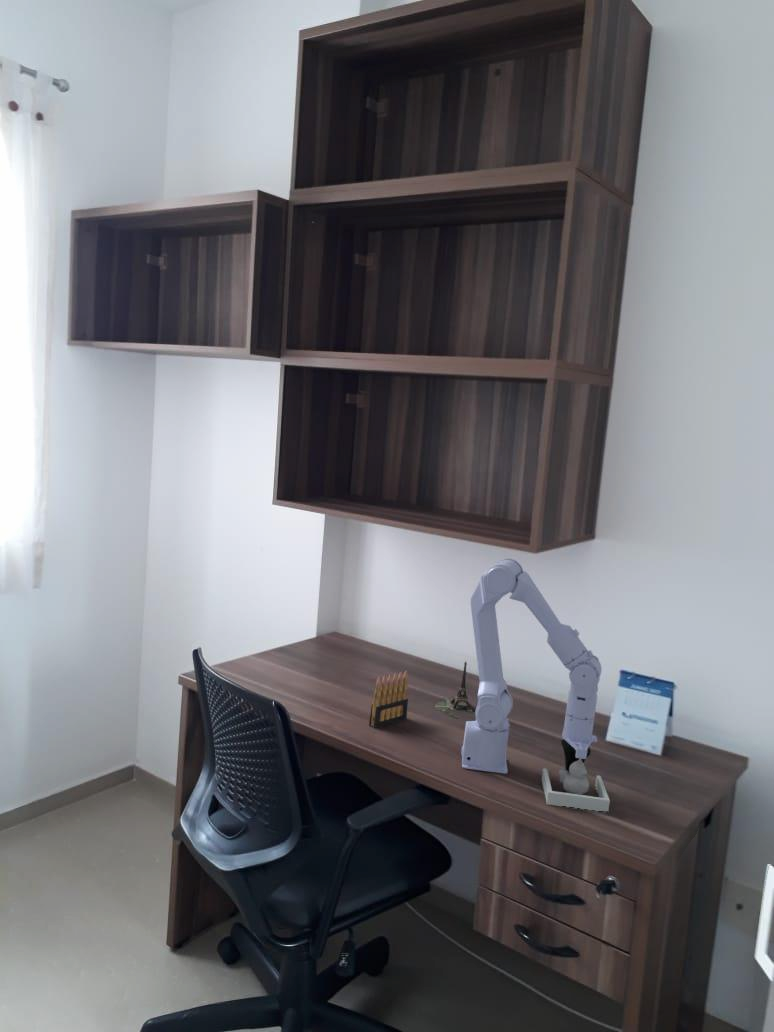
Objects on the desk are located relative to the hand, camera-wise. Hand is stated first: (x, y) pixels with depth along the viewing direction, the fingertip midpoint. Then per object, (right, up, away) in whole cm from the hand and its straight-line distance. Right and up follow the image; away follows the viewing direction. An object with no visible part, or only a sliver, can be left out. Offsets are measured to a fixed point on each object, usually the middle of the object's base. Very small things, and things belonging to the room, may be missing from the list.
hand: (571, 777), depth 168 cm
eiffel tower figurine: (-20, +5, +39) cm, 44 cm away
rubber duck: (-1, -2, -3) cm, 4 cm away
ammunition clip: (-38, +5, +24) cm, 45 cm away
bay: (-1, -2, -4) cm, 5 cm away
